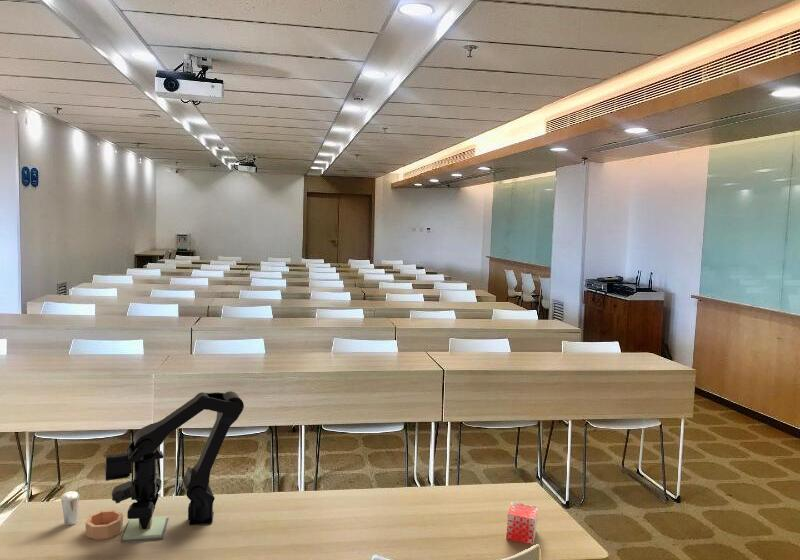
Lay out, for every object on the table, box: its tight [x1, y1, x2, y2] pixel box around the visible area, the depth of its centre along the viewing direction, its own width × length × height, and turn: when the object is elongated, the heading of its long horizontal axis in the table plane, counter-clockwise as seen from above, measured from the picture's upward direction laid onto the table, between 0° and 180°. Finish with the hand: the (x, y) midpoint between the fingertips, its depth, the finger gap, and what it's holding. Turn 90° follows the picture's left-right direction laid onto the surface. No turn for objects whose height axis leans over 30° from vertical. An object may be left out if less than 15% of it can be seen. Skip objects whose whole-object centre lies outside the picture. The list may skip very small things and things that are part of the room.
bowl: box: [85, 509, 124, 541], centre depth 172 cm, size 9×9×4 cm
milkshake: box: [60, 490, 81, 527], centre depth 175 cm, size 4×5×10 cm
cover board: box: [122, 515, 168, 540], centre depth 174 cm, size 10×10×5 cm
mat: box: [120, 517, 169, 544], centre depth 174 cm, size 11×11×1 cm
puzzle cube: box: [505, 501, 539, 545], centre depth 181 cm, size 8×8×8 cm
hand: (145, 525), depth 174 cm, fingers closed on cover board, 3 cm apart
